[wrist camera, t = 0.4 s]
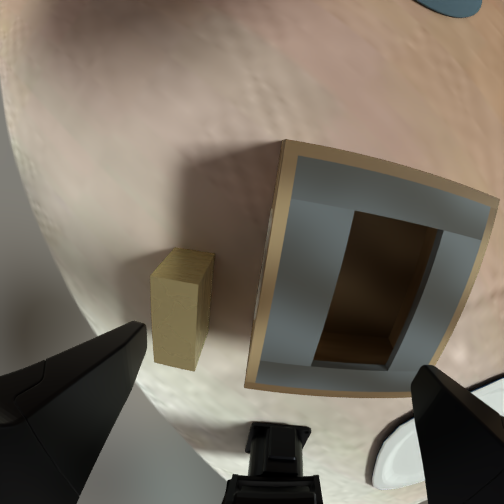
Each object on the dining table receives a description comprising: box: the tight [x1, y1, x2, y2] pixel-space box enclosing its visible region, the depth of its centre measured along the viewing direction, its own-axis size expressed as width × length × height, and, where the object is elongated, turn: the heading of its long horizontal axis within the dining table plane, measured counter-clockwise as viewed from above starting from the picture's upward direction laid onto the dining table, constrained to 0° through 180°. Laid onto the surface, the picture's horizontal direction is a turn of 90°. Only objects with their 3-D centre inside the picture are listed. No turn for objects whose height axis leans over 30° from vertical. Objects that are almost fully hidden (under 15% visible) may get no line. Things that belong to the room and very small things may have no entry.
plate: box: [372, 377, 504, 490], centre depth 29 cm, size 25×25×2 cm
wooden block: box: [150, 247, 215, 371], centre depth 21 cm, size 7×3×5 cm, turn 172°
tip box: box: [244, 139, 500, 398], centre depth 17 cm, size 14×12×7 cm
